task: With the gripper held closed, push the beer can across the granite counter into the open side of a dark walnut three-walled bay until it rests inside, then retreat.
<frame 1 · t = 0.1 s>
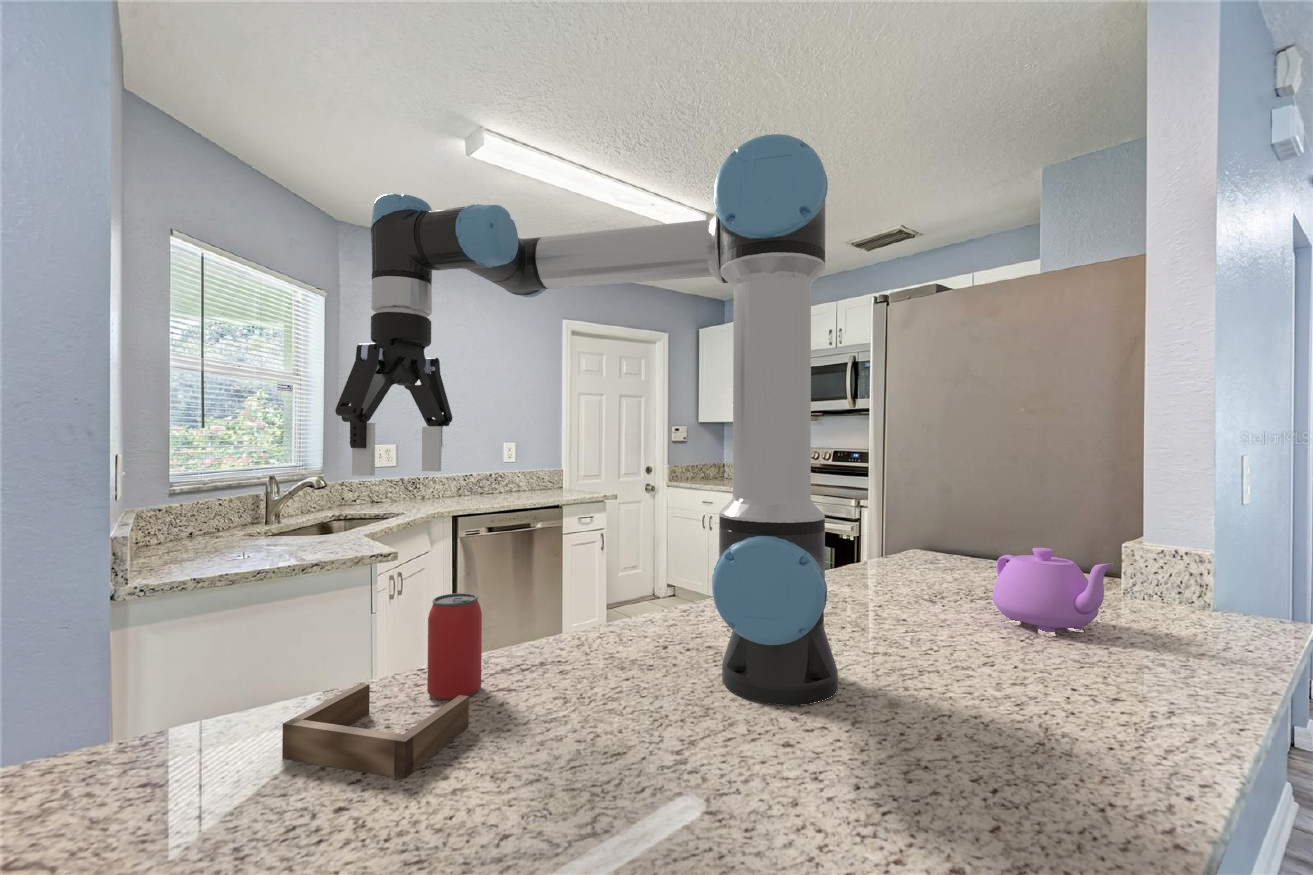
hand: (400, 473, 81), 28 cm above the countertop, fingers open, 13 cm apart
beer can: (454, 693, 77), on the countertop
teapot: (1048, 629, 105), on the countertop
walnut bay: (384, 739, 64), on the countertop
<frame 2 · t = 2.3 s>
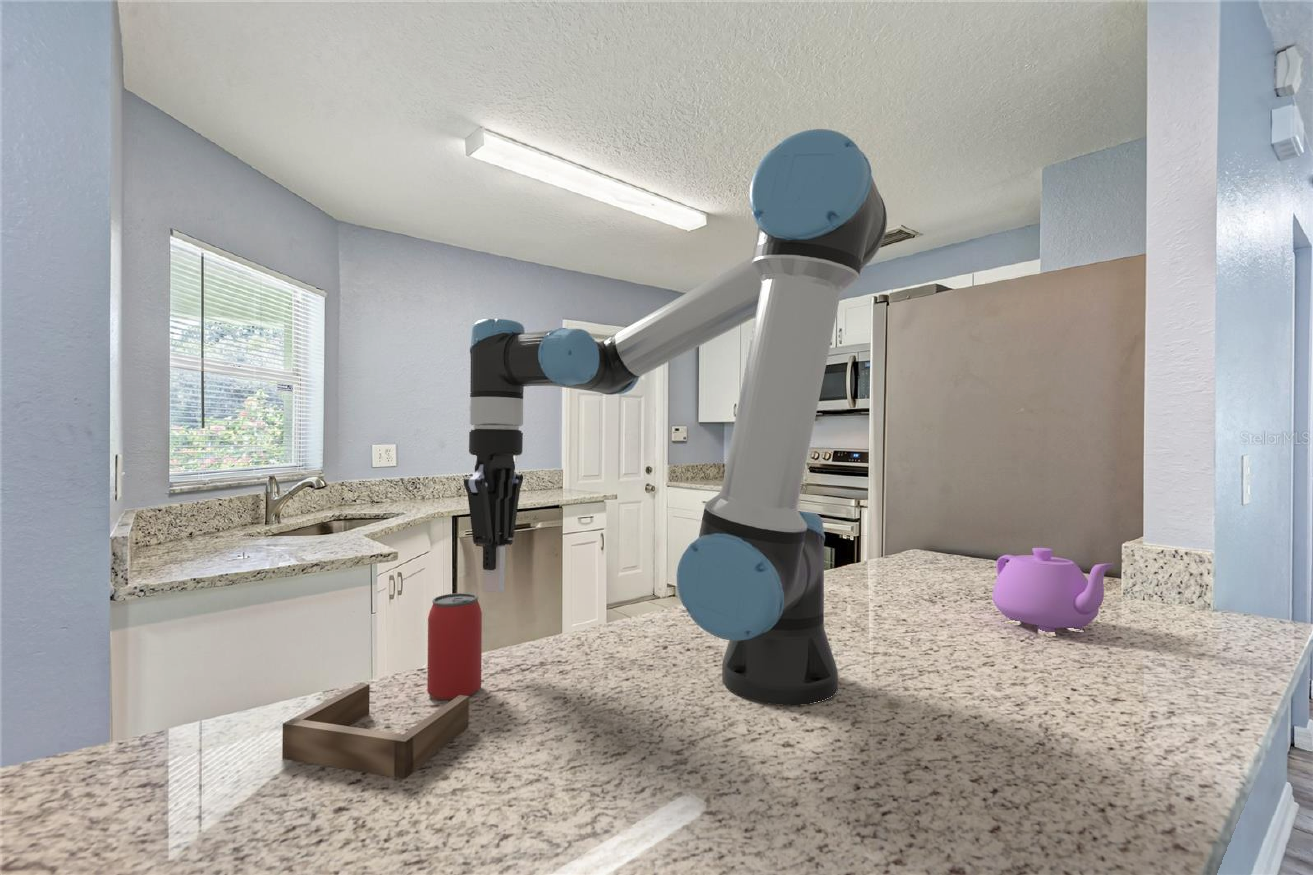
hand: (493, 590, 87), 11 cm above the countertop, fingers closed
nothing on the countertop moved.
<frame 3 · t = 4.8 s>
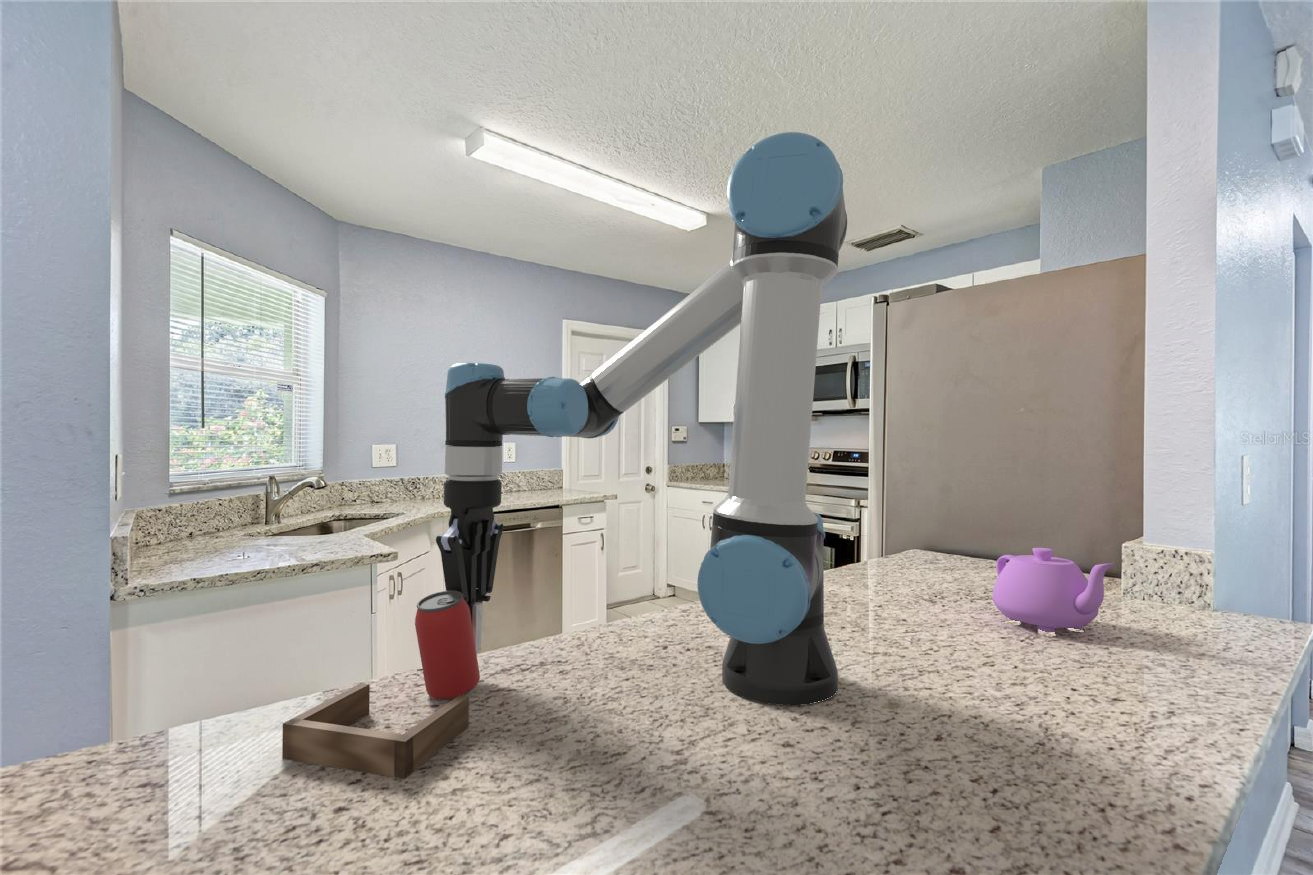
hand: (469, 650, 82), 4 cm above the countertop, fingers closed
beer can: (454, 688, 77), on the countertop, touching gripper, hand
everything else where it was.
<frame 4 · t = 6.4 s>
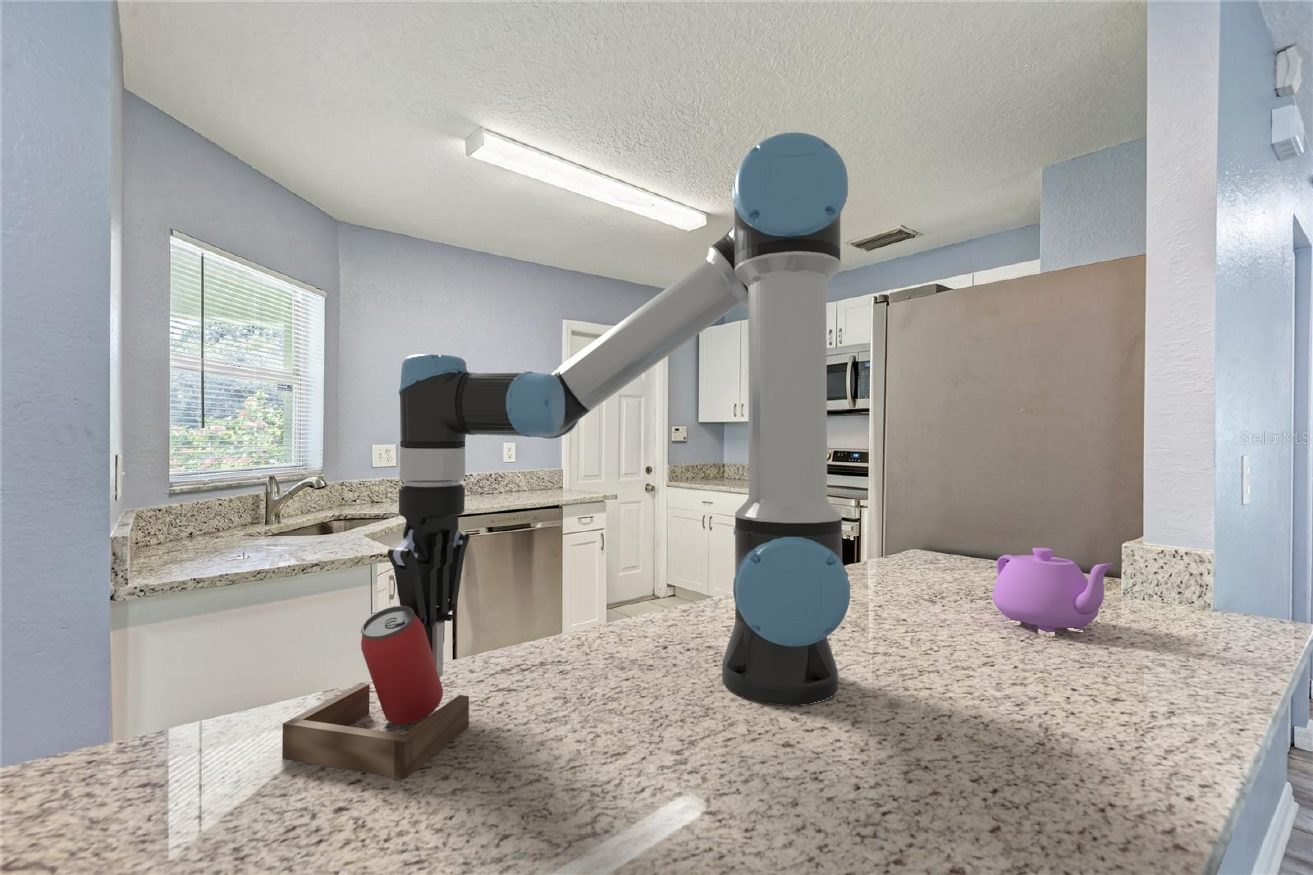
hand: (430, 675, 73), 3 cm above the countertop, fingers closed
beer can: (415, 707, 70), point 1 cm above the countertop, touching gripper, hand
everything else where it was.
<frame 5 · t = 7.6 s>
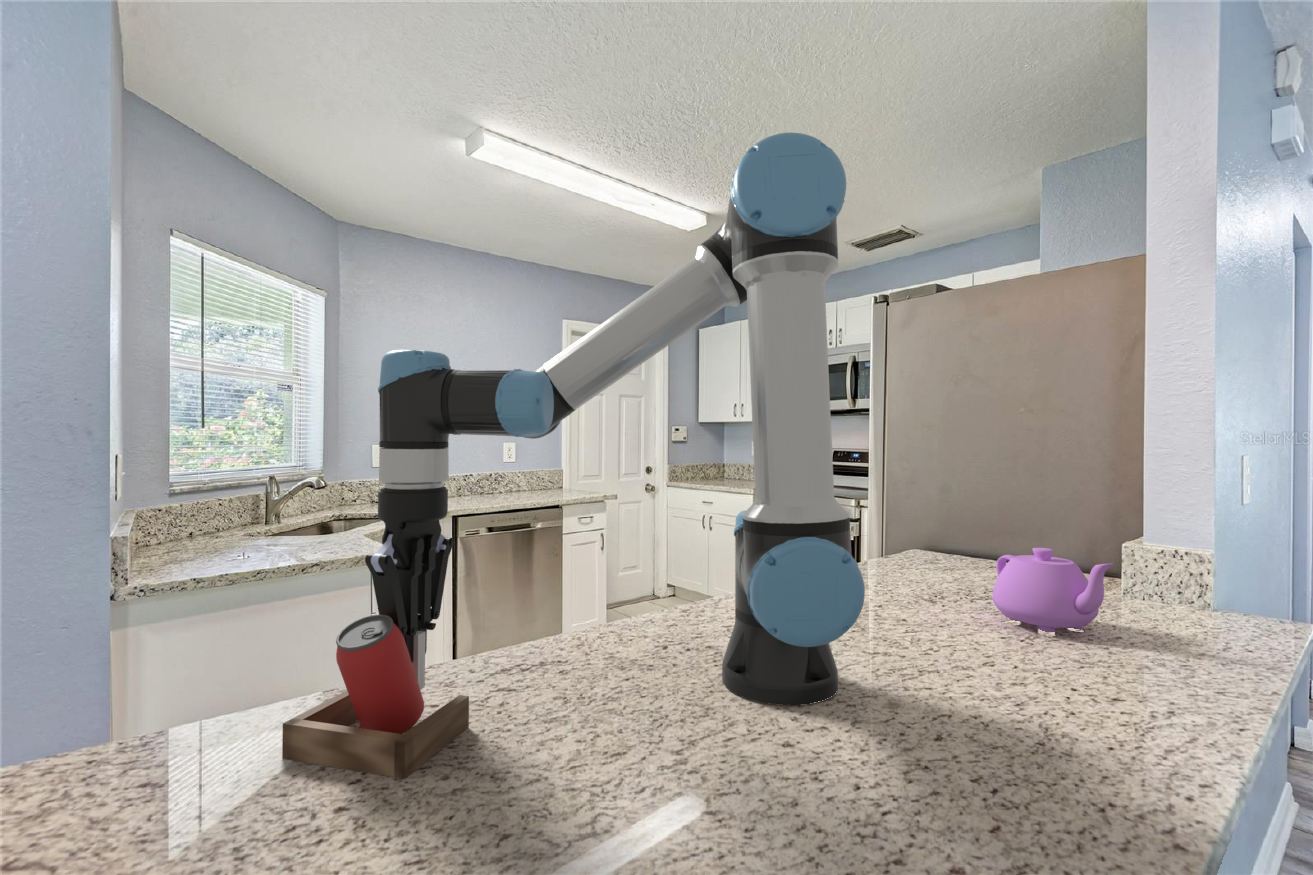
hand: (411, 687, 70), 3 cm above the countertop, fingers closed
beer can: (395, 721, 67), point 1 cm above the countertop, touching gripper, hand
everything else where it was.
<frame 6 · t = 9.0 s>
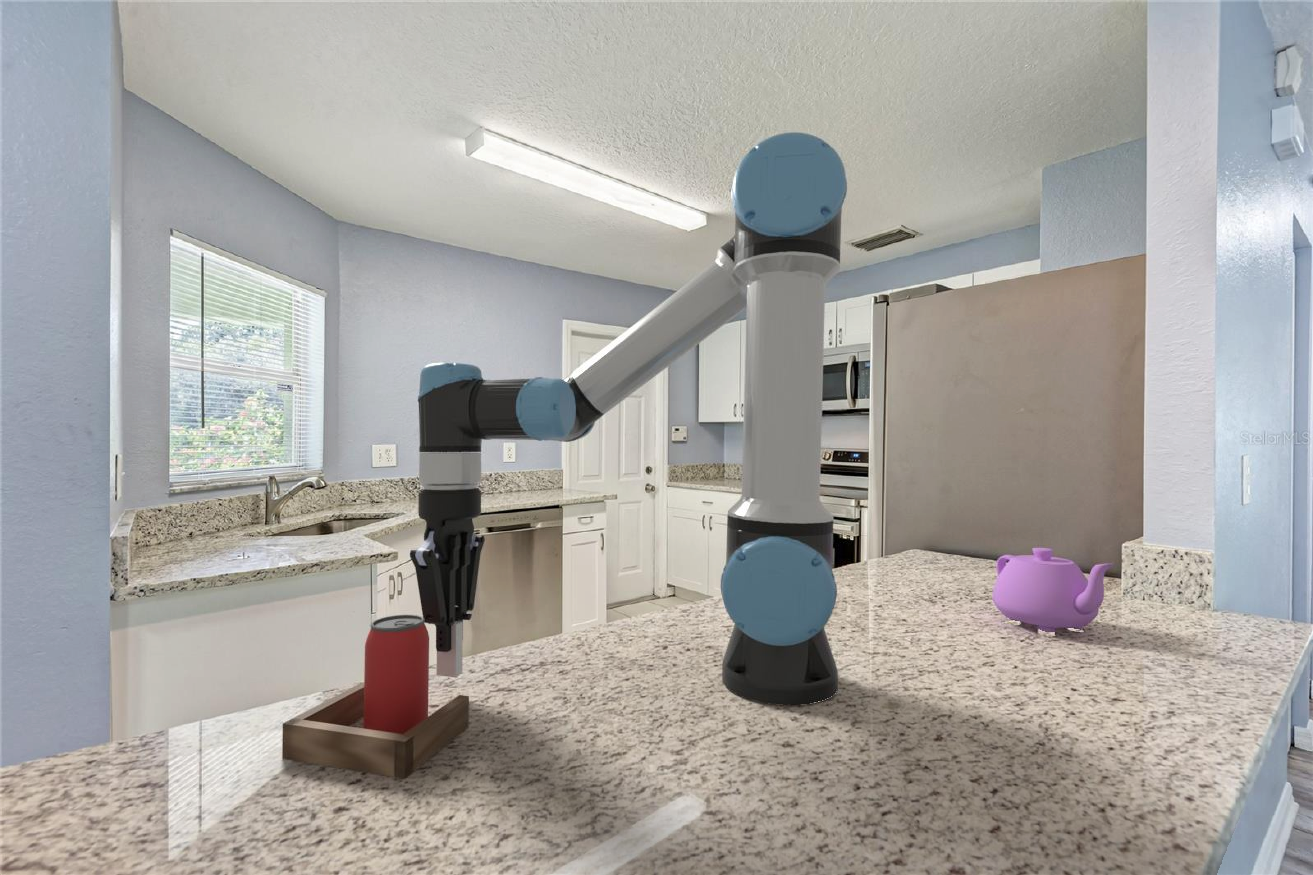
hand: (449, 674, 76), 3 cm above the countertop, fingers closed
beer can: (396, 731, 67), on the countertop
everything else where it was.
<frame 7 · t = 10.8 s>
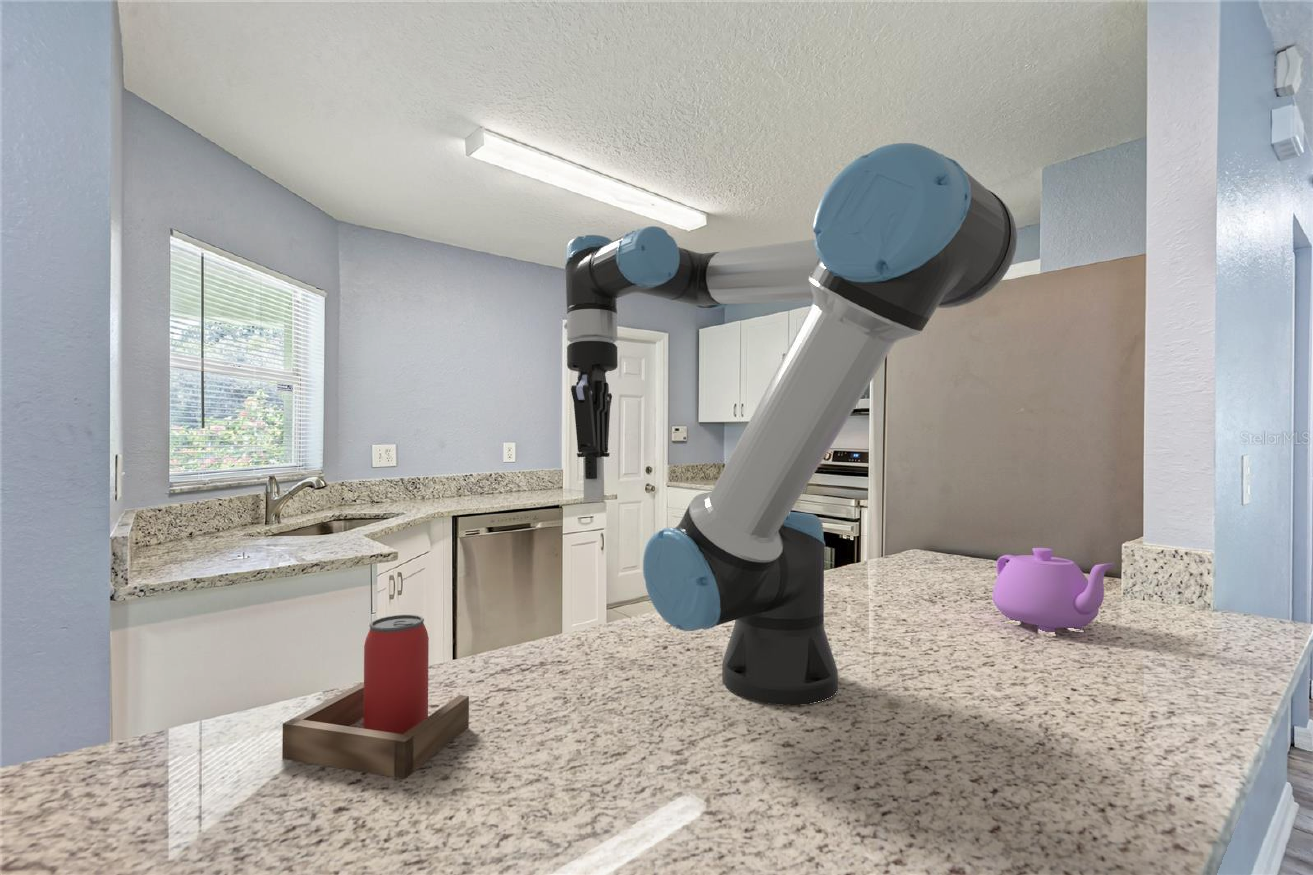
hand: (594, 501, 89), 23 cm above the countertop, fingers closed
nothing on the countertop moved.
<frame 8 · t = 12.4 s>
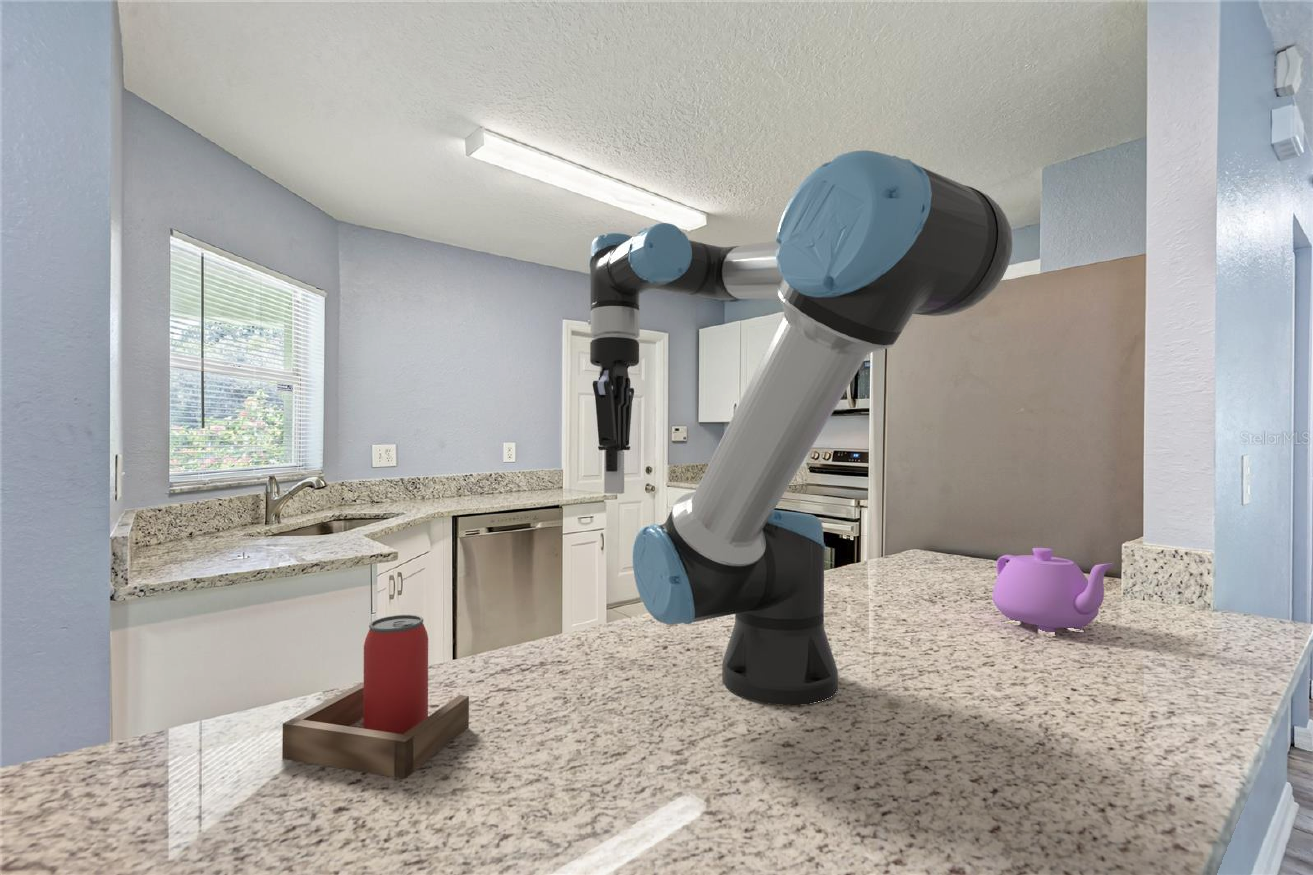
hand: (614, 493, 92), 24 cm above the countertop, fingers closed
nothing on the countertop moved.
at the end: beer can inside the target area (3.0 cm from its centre), on the countertop; beer can tilted 0°; beer can touching countertop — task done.
